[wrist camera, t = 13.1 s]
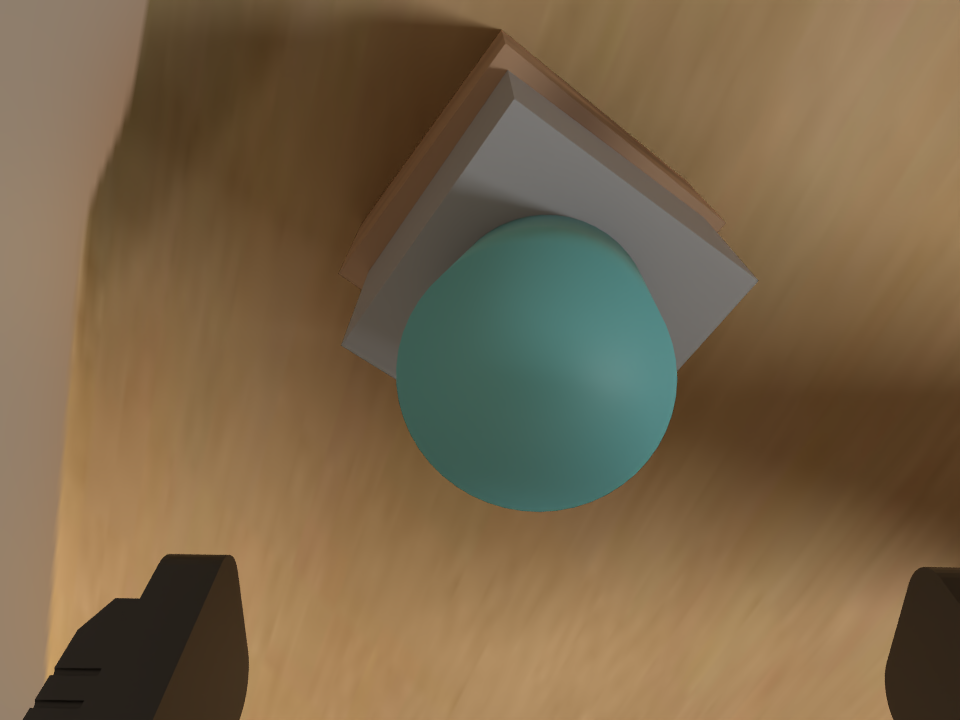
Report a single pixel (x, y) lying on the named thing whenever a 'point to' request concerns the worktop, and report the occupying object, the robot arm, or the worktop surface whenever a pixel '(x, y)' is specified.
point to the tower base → (456, 122)
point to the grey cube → (547, 191)
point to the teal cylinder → (538, 367)
